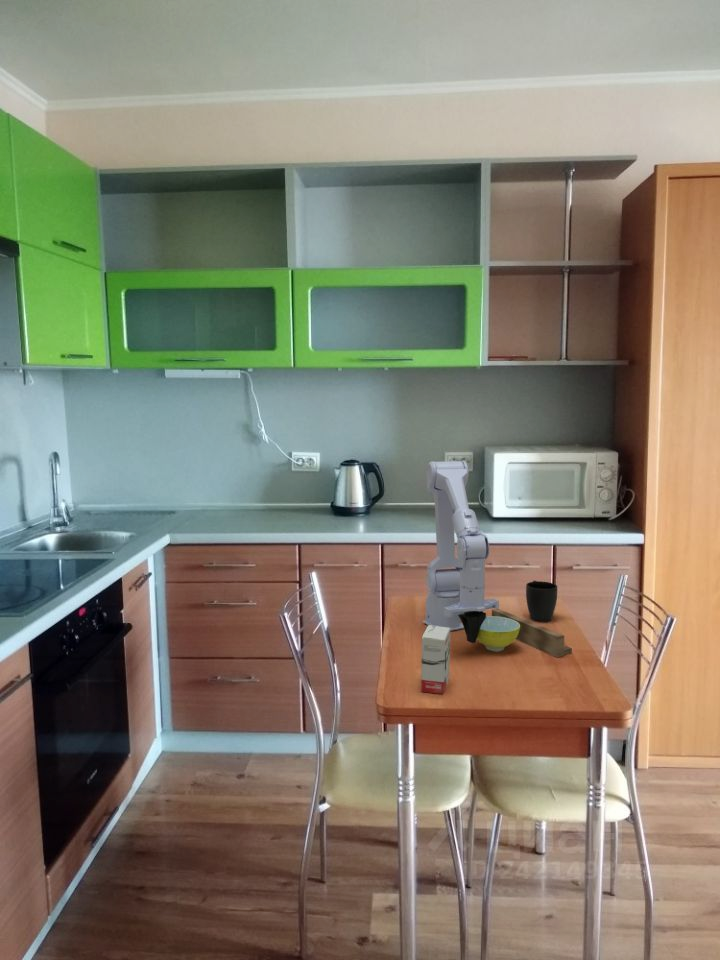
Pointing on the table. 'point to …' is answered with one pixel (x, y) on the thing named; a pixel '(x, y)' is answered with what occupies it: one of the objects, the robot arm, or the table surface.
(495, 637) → the bowl
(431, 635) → the ink box
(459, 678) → the table surface
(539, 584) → the mug
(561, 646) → the walnut wall
